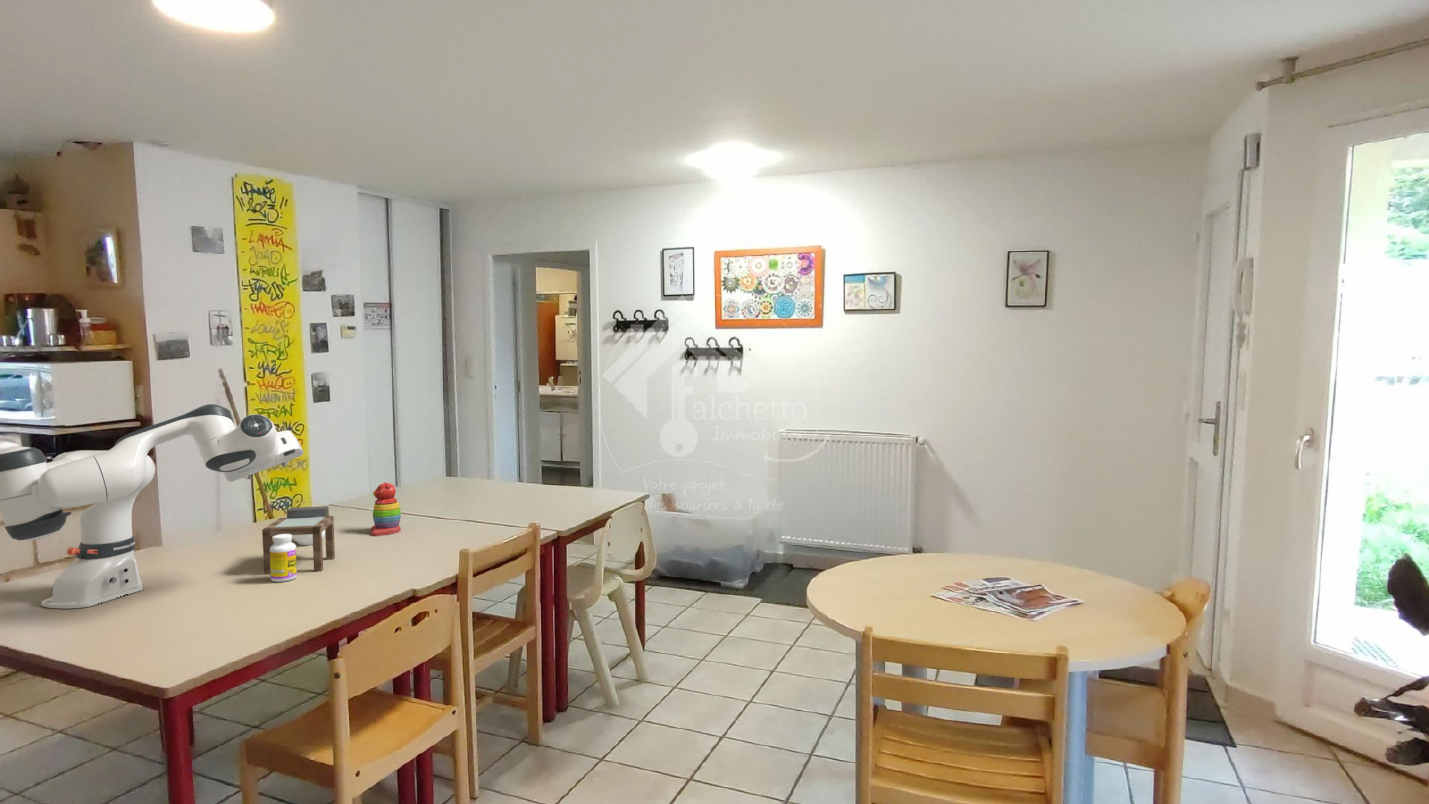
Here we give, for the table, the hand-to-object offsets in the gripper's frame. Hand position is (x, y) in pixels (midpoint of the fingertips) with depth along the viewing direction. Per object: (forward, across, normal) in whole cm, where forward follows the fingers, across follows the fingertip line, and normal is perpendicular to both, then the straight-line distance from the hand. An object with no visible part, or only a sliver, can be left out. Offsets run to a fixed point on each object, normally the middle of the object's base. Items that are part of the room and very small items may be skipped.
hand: (266, 470), depth 222 cm
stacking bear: (+51, +30, -17) cm, 61 cm away
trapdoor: (+20, +3, -15) cm, 25 cm away
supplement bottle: (+13, -7, -29) cm, 32 cm away
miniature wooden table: (+23, -1, -24) cm, 33 cm away
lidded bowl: (+47, +6, -10) cm, 49 cm away
